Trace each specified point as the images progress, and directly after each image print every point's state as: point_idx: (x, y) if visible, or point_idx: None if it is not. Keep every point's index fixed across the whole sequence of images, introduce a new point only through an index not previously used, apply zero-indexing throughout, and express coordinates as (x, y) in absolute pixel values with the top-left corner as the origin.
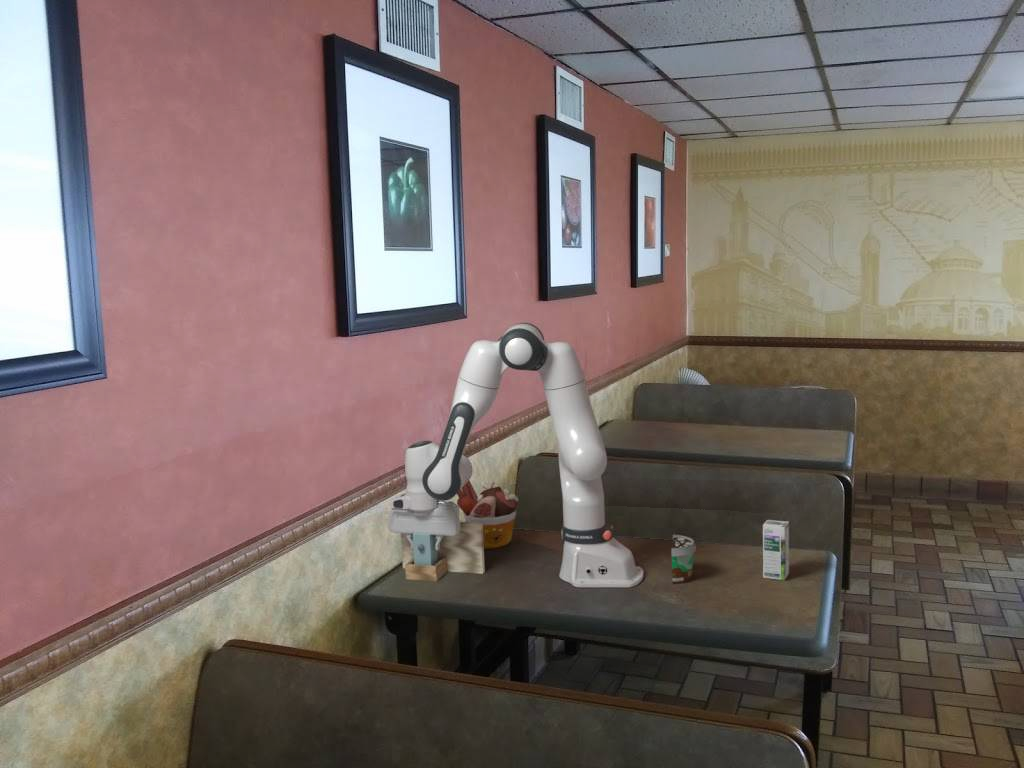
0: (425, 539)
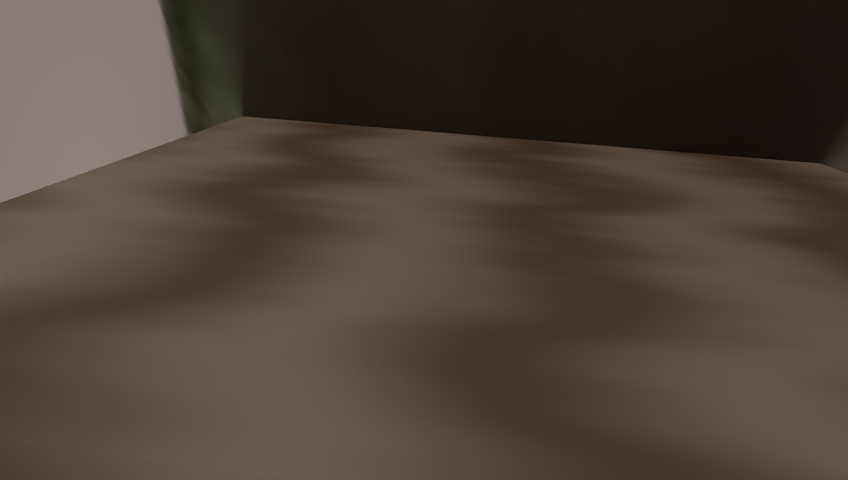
0: None
